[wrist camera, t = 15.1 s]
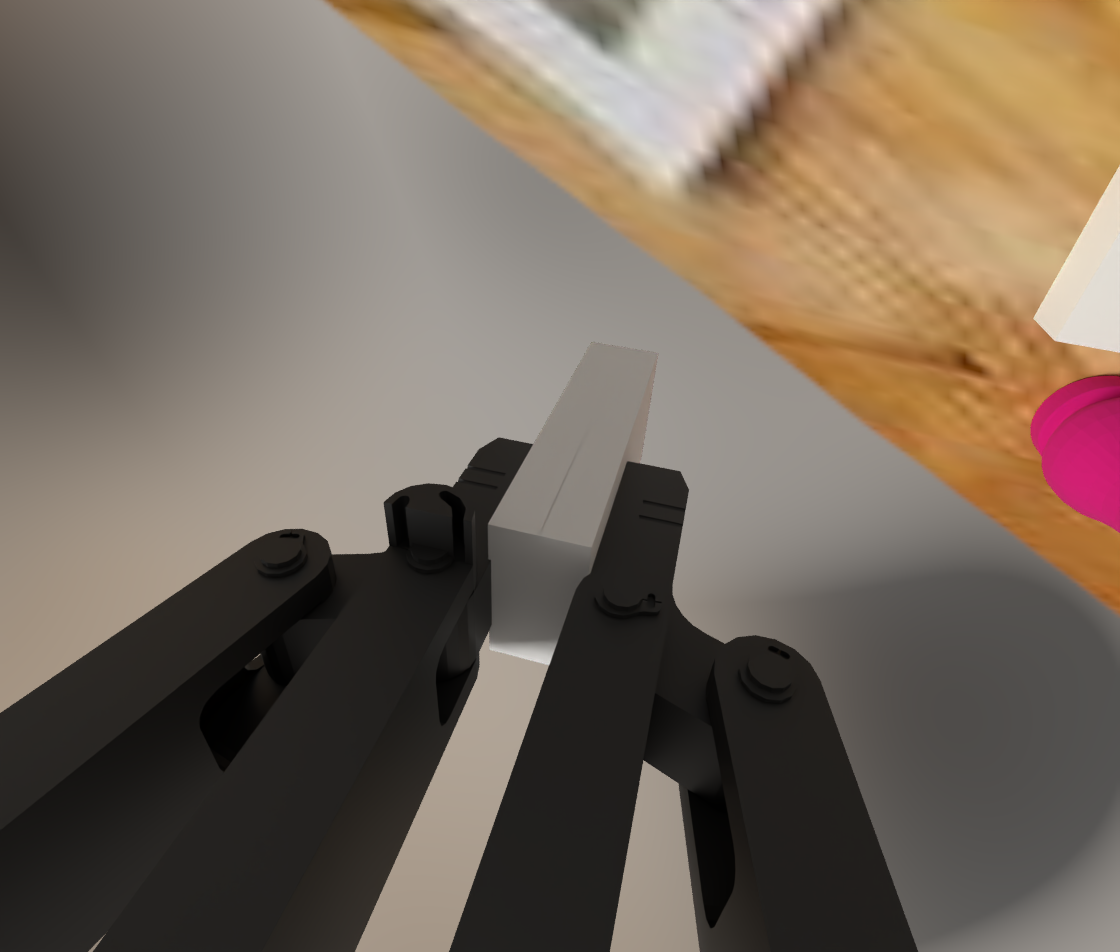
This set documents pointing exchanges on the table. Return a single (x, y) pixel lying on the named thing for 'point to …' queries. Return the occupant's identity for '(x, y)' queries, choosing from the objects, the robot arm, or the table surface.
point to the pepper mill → (1083, 446)
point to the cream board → (1089, 282)
